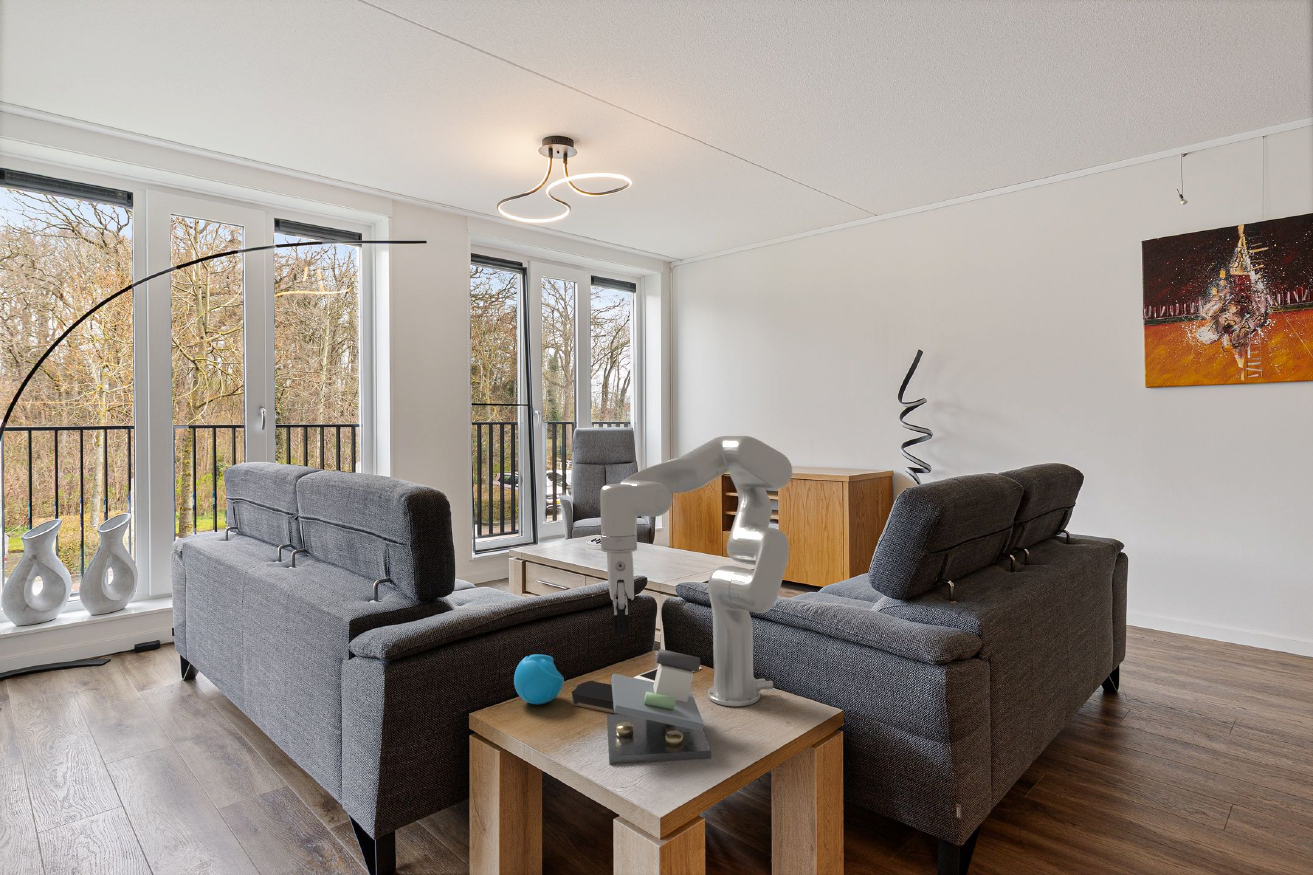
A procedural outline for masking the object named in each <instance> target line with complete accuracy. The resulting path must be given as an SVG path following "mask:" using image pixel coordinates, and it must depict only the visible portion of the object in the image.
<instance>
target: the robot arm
mask: <svg viewBox="0 0 1313 875" xmlns="http://www.w3.org/2000/svg"><path fill="white" fill-rule="evenodd" d="M726 473H729V475H730V476H729V477H730V478H731V482H733V485H734V487H735V490H736V493H737V496H738V503H737V504H738V505H737V510H736V513H735V516H734V520H733V523H732V526H731V529H730V533H729V537H728V539H727V542H726V543H727V544H726V553H727V556H728V557H729V558H730V559H731V560H732V561H735V562H736V563H741V564H746V565H751V566H754V569H749V568H747V567H746V568H745V567H740V566H736V565H735V566H734V565H722V566H720V567H717V568H715V569H714V570H713V571H712V572H711V575H710V576H709V578H708V584H707V588H708V595H709V596H708V597H709V599H710V604H711V606H710V607H711V612H712V630H713V631H712V634H713V636H712V637H713V638H712V640H713V644H712V647H713V686H711V687H710V688H709V689H708V690H707V697H708V699H709V700H710V701H711V702H713V703H715V704H718V705H721V706H727V707H745V706H750V705H753V704H755V703H757V702H758V701H760V699H761V690H767V691H768V690H774V682H773V680H766V679H765V678H759V679H757V678H756V677H755V676H754V641H753V638H754V637H753V634H754V633H753V632H754V631H753V630H754V628H753V621H752V617H751V614H750V612H751V613H752V612H753V613H757V614H764V613H767V612H769V611H770V610H771V609H772V608H773V607H774V605H775V603H776V601H777V600H778V596H779V593H780V589H781V586H782V582H783V580H784V576H785V573H786V572H785V571H786V569H787V565H788V561H789V557H790V544H789V543H790V542H789V540H788V539H789V538H788V536H787V535H786V534H785V533H784V532H783V531H782V530H780V529H778V528H774V527H772V526H771V527H769V525H770V522H771V516H772V513H773V507H772V503H771V499H770V497H769V494H768V493H767V491H766V489H782V488H784V487H786V486H787V485H788V484H789V482H790V481H791V479H792V475H793V466H792V463H791V461H790V459H789V458H788V457H787V456H786V455H785V454H783V453H782V452H781V451H779V450H778V449H776V448H774V447H772V446H770V445H768V444H767V443H765V442H763V441H761V440H759V439H757V438H756V437H752V436H748V435H721V436H717V437H714V438H713V439H711V440H708V441H707V442H705V443H704V444H701V445H700V446H697V447H696V448H694V449H692V450H691V451H689V452H688V453H685V454H683V455H681V456H678V457H676V458H672V459H669V460H666V461H664V462H661V463H658V464H655V465H651V466H649V467H646V468H644V469H642V470H640V471H637V472H635V473H634V474H632V475H630V476H628V477H626V478H625V479H623V480H622V481H621V482H619V483H610V484H605V485H603V486H601V489H600V494H599V495H600V496H599V497H600V499H599V500H600V551H601V552H602V553H603V552H604V553H606V560H607V561H606V565H607V582H608V591H609V596H610V599H611V601H612V606H611V617H612V618H611V619H612V620H611V621H612V622H611V624H612V628H613V629H612V632H613V635H628V634H629V633H630V615H629V611H628V610H629V609H628V599H630V600H631V601H633V600H635V582H634V578H635V577H634V574H635V573H634V558H633V552H636V551H637V550H638V535H637V533H638V528H637V527H638V524H637V520H638V519H637V518H638V517H651V518H653V517H654V518H657V517H661V516H663V515H664V514H666V513H668V511H669V510H670V509H671V507H672V505H673V501H674V498H673V494H678V493H679V494H680V493H688V492H689V493H690V492H693V491H696V490H700V489H701V488H703V487H705V486H707V485H709V484H710V483H711V482H713V481H715V480H716V479H718V478H719V477H722V476H723V475H725V474H726Z"/></svg>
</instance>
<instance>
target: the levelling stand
mask: <svg viewBox="0 0 1313 875" xmlns="http://www.w3.org/2000/svg"><path fill="white" fill-rule="evenodd" d="M606 727H607V728H606V731H607V747H608V764H609V765H620V764H621V765H622V764H623V765H624V764H636V763H651V762H652V763H654V762H666V761H667V762H669V761H670V762H671V761H684V760H686V761H687V760H698V759H699V760H702V759H711V758H712V752H711V747H710V745H709V742H708V740H707V737H706V734H705V732H704V730H702V731H699V730H694V729H689V728H684V727H680V726H675V725H670V724H665V723H661V722H656V721H651V720H646V719H642V718H637V717H632V716H627V715H623V714H614V713H611V714H606Z"/></svg>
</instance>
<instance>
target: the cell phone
mask: <svg viewBox="0 0 1313 875" xmlns="http://www.w3.org/2000/svg"><path fill="white" fill-rule="evenodd" d="M700 669H701V670H702V667H701V666H700V667H699V671H701V670H700ZM657 670H658V667H656V668H654V669H651V670H649V671H646V672H643V673H640V674H639V675H636V676H634V677H633V678H637V679H641V680H646V681H651V682H655V678H656V674H657ZM693 672H694V673H696V672H695V671H693Z"/></svg>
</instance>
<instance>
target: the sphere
mask: <svg viewBox="0 0 1313 875" xmlns="http://www.w3.org/2000/svg"><path fill="white" fill-rule="evenodd" d="M513 677H514V678H513V685H514V689H515V690H516V693H517V695H518V696H519V697H520V699H522V700H523V701H524V702H527V703H529V704H531V705H543V704H547V703H550V702H551V701H553V700H554V699H555V698H556V697H557V696H558V695H559V694H560V693H561V691H562V690H563V687H564V686H563V685H564V681H565V678H564V676H563V675H562V674H561V673H560V672H559V671H558V670H557V668H556V665H555V664H554V658H553V656H550V655H546V654H530V655H529V656H527V655H526V656H525V657H524V658H522V660H521V661H520V662H519V663H518V665H517V667H516V669H515V672H514V676H513Z"/></svg>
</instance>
